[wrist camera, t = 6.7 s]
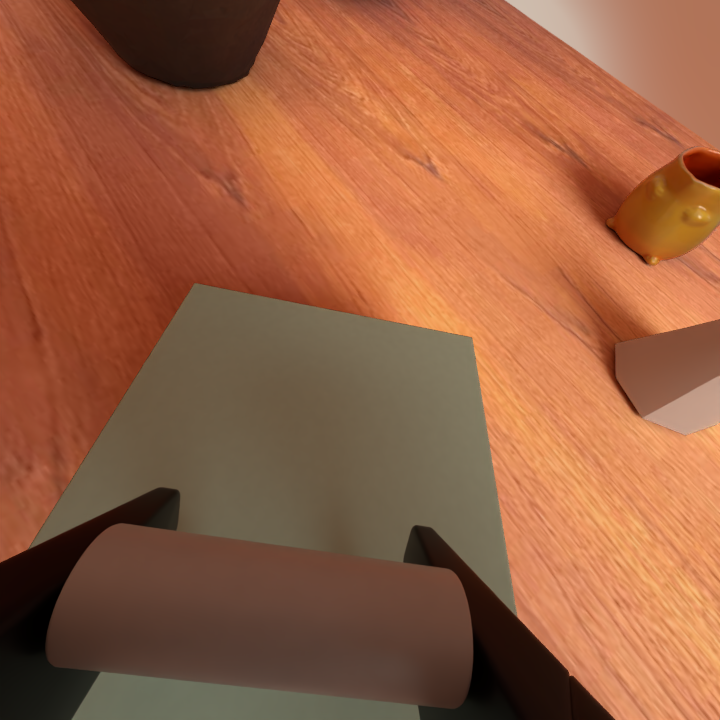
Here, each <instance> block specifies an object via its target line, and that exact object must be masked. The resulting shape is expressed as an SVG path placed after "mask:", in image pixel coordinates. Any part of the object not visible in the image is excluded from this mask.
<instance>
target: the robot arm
mask: <svg viewBox="0 0 720 720" xmlns="http://www.w3.org/2000/svg"><path fill="white" fill-rule="evenodd" d="M180 496H181V495H180V492H179V490H177V489H172V488H165V487H158V488H156V489H154V490H151V491H149V492H147V493H145V494H143V495H141V496H139V497H137V498H135V499H133V500H131V501H128V502H126V503H124V504H122V505H120V506H118V507H116V508H114V509H112V510H110V511H107V512H105V513H103V514H101V515H99V516H97V517H95V518H93V519H91V520H89V521H87V522H84V523H82V524H80V525H78V526H76V527H74V528H72V529H70V530H68V531H66V532H64V533H61V534H59V535H57V536H55V537H53V538H51V539H49V540H47V541H45V542H43V543H41V544H38V545H36V546H34V547H32V548H30V549H28V550H26V551H24V552H22V553H20V554H17V555H15V556H13V557H11V558H9V559H7V560H5V561H3V562H1V563H0V720H72V718H73V716H74V715H75V713H76V712H77V710H78V708H79V707H80V705H81V703H82V702H83V700H84V698H85V697H86V695H87V694H88V692H89V690H90V689H91V687H92V685H93V684H94V682H95V680H96V679H97V677H98V676H99V674H100V672H98V671H89V670H79V669H70V668H61V667H54V666H53V665H51V664H50V663H49V661H48V660H47V657H46V652H45V643H46V635H47V630H48V626H49V622H50V619H51V616H52V613H53V610H54V607H55V605H56V602H57V600H58V597H59V595H60V593H61V591H62V589H63V587H64V585H65V583H66V581H67V579H68V577H69V575H70V573H71V572H72V570H73V568H74V567H75V565H76V563H77V562H78V560H79V559H80V557H81V556H82V555H83V553H84V552H85V550H86V549H87V548H88V547H89V545H90V544H91V543H92V542H93V541H94V540H95V539H96V538H97V537H98V536H99V535H100V534H101V533H102V532H103V531H104V530H106V529H107V528H109V527H110V526H113V525H116V524H120V523H124V524H131V525H138V526H145V527H152V528H159V529H167V530H174V531H176V530H177V526H178V519H179V508H180ZM403 563H410V564H418V565H425V566H432V567H439V568H446V569H450V570H451V571H453V572H454V573H455V574H456V575H457V576H458V578H459V580H460V581H461V584H462V586H463V588H464V591H465V594H466V598H467V601H468V606H469V610H470V616H471V624H472V634H473V668H472V677H471V683H470V687H469V691H468V694H467V697H466V699H465V701H464V702H463V704H462V705H461V706H460V707H458V708H456V709H448V708H439V707H429V706H420V705H418V710H419V716H420V720H615V719H614V718H613V717H612V716H611V715H610V714H609V713H608V712H607V711H606V710H605V709H604V708H603V707H602V705H601V704H600V703H599V702H598V701H597V700H596V699H595V698H594V697H593V696H592V695H591V694H590V693H589V692H588V691H587V690H586V689H585V688H584V687H583V686H582V685H581V684H580V683H579V682H578V680H577V679H576V678H575V677H574V676H569V672H568V670H567V669H566V668H565V667H564V666H563V665H562V664H561V663H560V662H559V661H558V660H557V659H556V658H555V656H554V655H553V654H552V653H551V652H550V651H549V650H548V649H547V648H546V647H545V646H544V645H543V644H542V643H541V642H540V641H539V640H538V639H537V638H536V637H535V635H534V634H533V633H532V632H531V631H530V630H529V629H528V628H527V627H526V626H525V625H524V624H523V623H522V622H521V621H520V620H519V619H518V618H517V617H516V615H515V614H514V613H513V612H512V611H511V610H510V609H509V608H508V607H507V606H506V605H505V604H504V603H503V602H502V601H501V600H500V599H499V598H498V597H497V595H496V594H495V593H494V592H493V591H492V590H491V589H490V588H489V587H488V586H487V585H486V584H485V583H484V582H483V581H482V580H481V579H480V578H479V577H478V576H477V574H476V573H475V572H474V571H473V570H472V569H471V568H470V567H469V566H468V565H467V564H466V563H465V562H464V561H463V560H462V559H461V558H460V557H459V556H458V554H457V553H456V552H455V551H454V550H453V549H452V548H451V547H450V546H449V545H448V544H447V543H446V542H445V541H444V540H443V539H442V538H441V537H440V536H439V534H438V533H437V532H436V531H435V530H434V529H433V528H431V527H427V526H420V525H415V526H413V527H412V529H411V531H410V535H409V539H408V542H407V546H406V550H405V553H404V558H403Z"/></svg>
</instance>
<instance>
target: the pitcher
mask: <svg viewBox="0 0 720 720" xmlns="http://www.w3.org/2000/svg"><path fill="white" fill-rule="evenodd" d="M71 1H72V2H73V3H74V4H75V5H76V6H77V7H78V9H79V10H80V11H81V12H82V13H83V14H84V15H85V16H86V17H87V19H88V20H89V21H90V22H91V23H92V24H93V25H94V27H95V28H96V29H97V30H98V31H99V33H100V34H101V35H102V36H103V37H104V38H105V40H106V41H107V42H108V43H109V44H110V45H111V47H112V48H113V49H114V50H115V51H116V53H117V54H118V55H119V56H120V57H121V58H122V59H123V60H125V61H126V62H127V63H128V64H129V65H130V66H132V67H133V68H134V69H135V70H137V71H139V72H141V73H143V74H146V75H148V76H150V77H153V78H156V79H159V80H162V81H165V82H167V83H170V84H172V85H174V86H188V87H192V88H209V87H216V86H220V85H224V84H229V83H233V82H236V81H238V80H240V79H241V78H243V77H245V76H247V75H248V73H249V71H250V68H251V67H252V65H253V64H254V61H255V58H256V56H257V54H258V52H259V50H260V48H261V46H262V44H263V42H264V40H265V38H266V35H267V33H268V30H269V27H270V25H271V22H272V20H273V17H274V14H275V12H276V9H277V7H278V4H279V1H280V0H71Z"/></svg>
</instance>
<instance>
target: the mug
mask: <svg viewBox="0 0 720 720" xmlns="http://www.w3.org/2000/svg"><path fill="white" fill-rule="evenodd" d="M606 224H607V226H608V227H610V228H611V229H613V230H614V231H616V233H617V234H618V236H619V237H620V239H621V240H622V241H623V242H624V243H625V244H626V245H627V246H628V247H629V248H631V249H632V250H633V251H635V252H636V253H638V254H639V255H641V256H642V257H643V258H644V260H645V261H646V262H647V263H648V264H650V265H652V266H654V265H657V264H658V263H659V261H660V260H669V259H673V258H677V257H679V256H682V255H684V254H686V253H688V252H690V251H692V250H693V249H695V248H696V247H698V246H699V245H701V244H702V243H703V242H704V241H705V240H707V239H708V238H709V237H710V236H711V235H712V233H713V232H714V231H716V229H717V228H718V226H719V225H720V152H719V151H717V150H714V149H711V148H707V147H703V146H695V147H691V148H689V149H687V150H685V151H683V152H682V153H681V154H679V155H678V156H677V157H676V158H675V159H674V160H672V161H671V162H669V163H668V164H666V165H665V166H663V167H661V168H660V169H658V170H657V171H655V172H654V173H652V174H651V175H649V176H648V177H647V178H645V179H644V180H643V181H642V182H641V183H640V184H639V185H637V186H636V187H635V188H634V189H633V190H632V191H631V193H630V194H629V195H628V196H627V197H626V199H625V200H624V201H623V203H622V204H621V206H620V207H619V209H618V211H617V213H616V215H615V216H614V217H612V218H609V219H607V221H606Z"/></svg>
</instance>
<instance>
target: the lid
mask: <svg viewBox="0 0 720 720" xmlns="http://www.w3.org/2000/svg"><path fill="white" fill-rule="evenodd" d="M158 487H165V488H172V489H177V490H179V492H180V495H181V496H180V508H179V519H178V526H177V530H176V531H174V530H167V529H159V528H152V527H145V526H138V525H131V524H124V523H120V524H116V525H113V526H110V527H109V528H107V529H106V530H104V531H103V532H102V533H101V534H100V535H99V536H98V537H97V538H96V539H95V540H94V541H93V542H92V543H91V544H90V545H89V547H88V548H87V549H86V550H85V552H84V553H83V555H82V556H81V557H80V559H79V560H78V562H77V563H76V565H75V567H74V568H73V570H72V572H71V573H70V575H69V577H68V579H67V581H66V583H65V585H64V587H63V589H62V591H61V593H60V595H59V597H58V600H57V602H56V605H55V607H54V610H53V613H52V616H51V619H50V622H49V626H48V630H47V635H46V643H45V652H46V657H47V660H48V661H49V663H50V664H51V665H53V666H54V667H61V668H70V669H79V670H89V671H98V672H100V674H99V676H98V677H97V679H96V680H95V682H94V684H93V685H92V687H91V689H90V690H89V692H88V694H87V695H86V697H85V698H84V700H83V702H82V703H81V705H80V707H79V708H78V710H77V712H76V713H75V715H74V716H73V718H72V720H420V716H419V710H418V705H420V706H429V707H439V708H448V709H456V708H458V707H460V706H461V705H462V704H463V702H464V701H465V699H466V697H467V694H468V691H469V687H470V683H471V677H472V668H473V634H472V624H471V616H470V610H469V606H468V601H467V598H466V594H465V591H464V588H463V586H462V584H461V581H460V580H459V578H458V576H457V575H456V574H455V573H454V572H453V571H451V570H450V569H446V568H439V567H432V566H425V565H418V564H410V563H403V558H404V553H405V550H406V546H407V542H408V539H409V535H410V531H411V529H412V527H413V526H415V525H420V526H427V527H431V528H433V529H434V530H435V531H436V532H437V533H438V534H439V536H440V537H441V538H442V539H443V540H444V541H445V542H446V543H447V544H448V545H449V546H450V547H451V548H452V549H453V550H454V551H455V552H456V553H457V554H458V556H459V557H460V558H461V559H462V560H463V561H464V562H465V563H466V564H467V565H468V566H469V567H470V568H471V569H472V570H473V571H474V572H475V573H476V574H477V576H478V577H479V578H480V579H481V580H482V581H483V582H484V583H485V584H486V585H487V586H488V587H489V588H490V589H491V590H492V591H493V592H494V593H495V594H496V595H497V597H498V598H499V599H500V600H501V601H502V602H503V603H504V604H505V605H506V606H507V607H508V608H509V609H510V610H511V611H512V612H513V613H514V614H515V615H516V617H517V612H516V606H515V600H514V593H513V587H512V581H511V575H510V569H509V562H508V556H507V550H506V544H505V538H504V532H503V525H502V519H501V513H500V507H499V501H498V494H497V488H496V482H495V476H494V470H493V464H492V457H491V451H490V445H489V439H488V433H487V426H486V420H485V414H484V408H483V402H482V395H481V389H480V383H479V377H478V371H477V365H476V358H475V352H474V346H473V340H472V338H471V337H467V336H462V335H457V334H452V333H447V332H442V331H437V330H432V329H427V328H422V327H416V326H411V325H406V324H401V323H396V322H391V321H386V320H381V319H376V318H371V317H366V316H360V315H355V314H350V313H345V312H340V311H335V310H330V309H325V308H320V307H315V306H310V305H304V304H299V303H294V302H289V301H284V300H279V299H274V298H269V297H264V296H259V295H254V294H248V293H243V292H238V291H233V290H228V289H223V288H218V287H213V286H208V285H203V284H198V283H195V284H194V285H193V286H192V288H191V290H190V291H189V293H188V294H187V296H186V298H185V299H184V301H183V302H182V304H181V306H180V307H179V309H178V310H177V312H176V314H175V315H174V317H173V318H172V320H171V322H170V323H169V325H168V326H167V328H166V329H165V331H164V333H163V334H162V336H161V337H160V339H159V341H158V342H157V344H156V345H155V347H154V349H153V350H152V352H151V353H150V355H149V357H148V358H147V360H146V361H145V363H144V365H143V366H142V368H141V369H140V371H139V373H138V374H137V376H136V377H135V379H134V381H133V382H132V384H131V385H130V387H129V389H128V390H127V392H126V393H125V395H124V397H123V398H122V400H121V401H120V403H119V405H118V406H117V408H116V409H115V411H114V413H113V414H112V416H111V417H110V419H109V421H108V422H107V424H106V425H105V427H104V429H103V430H102V432H101V433H100V435H99V436H98V438H97V440H96V441H95V443H94V444H93V446H92V448H91V449H90V451H89V452H88V454H87V456H86V457H85V459H84V460H83V462H82V464H81V465H80V467H79V468H78V470H77V472H76V473H75V475H74V476H73V478H72V480H71V481H70V483H69V484H68V486H67V488H66V489H65V491H64V492H63V494H62V496H61V497H60V499H59V500H58V502H57V504H56V505H55V507H54V508H53V510H52V512H51V513H50V515H49V516H48V518H47V520H46V521H45V523H44V524H43V526H42V528H41V529H40V531H39V532H38V534H37V536H36V537H35V539H34V540H33V542H32V543H31V545H30V547H29V548H28V549H30V548H32V547H34V546H36V545H38V544H41V543H43V542H45V541H47V540H49V539H51V538H53V537H55V536H57V535H59V534H61V533H64V532H66V531H68V530H70V529H72V528H74V527H76V526H78V525H80V524H82V523H84V522H87V521H89V520H91V519H93V518H95V517H97V516H99V515H101V514H103V513H105V512H107V511H110V510H112V509H114V508H116V507H118V506H120V505H122V504H124V503H126V502H128V501H131V500H133V499H135V498H137V497H139V496H141V495H143V494H145V493H147V492H149V491H151V490H154V489H156V488H158Z"/></svg>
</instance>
